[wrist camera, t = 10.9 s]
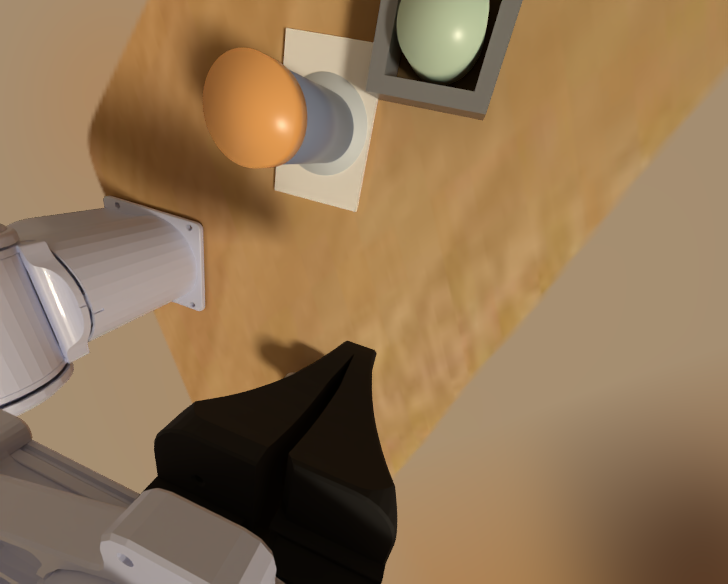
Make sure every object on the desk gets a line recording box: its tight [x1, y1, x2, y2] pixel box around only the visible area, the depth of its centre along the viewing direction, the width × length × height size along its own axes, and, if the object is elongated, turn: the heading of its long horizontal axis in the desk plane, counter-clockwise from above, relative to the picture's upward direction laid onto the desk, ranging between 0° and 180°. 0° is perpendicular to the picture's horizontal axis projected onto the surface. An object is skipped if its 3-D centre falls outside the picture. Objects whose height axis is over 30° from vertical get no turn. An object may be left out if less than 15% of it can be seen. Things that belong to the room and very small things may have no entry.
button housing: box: [365, 0, 523, 120], centre depth 15 cm, size 6×6×3 cm
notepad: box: [275, 28, 378, 212], centre depth 19 cm, size 6×9×1 cm, turn 168°
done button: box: [397, 0, 489, 85], centre depth 15 cm, size 4×4×3 cm
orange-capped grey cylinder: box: [203, 47, 354, 168], centre depth 16 cm, size 4×4×8 cm
